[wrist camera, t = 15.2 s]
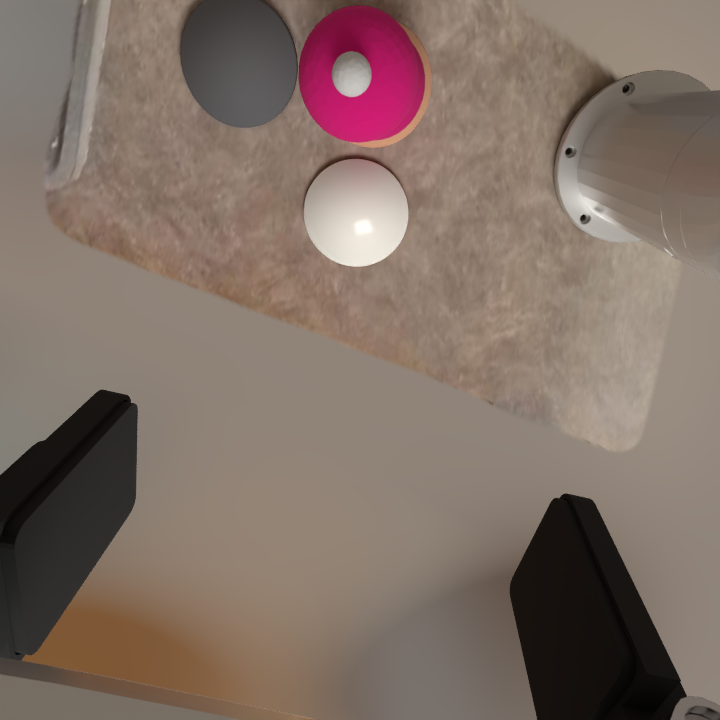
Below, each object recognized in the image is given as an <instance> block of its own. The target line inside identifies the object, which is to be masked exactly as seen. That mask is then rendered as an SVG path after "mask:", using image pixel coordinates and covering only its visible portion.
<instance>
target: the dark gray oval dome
mask: <svg viewBox="0 0 720 720" xmlns="http://www.w3.org/2000/svg"><path fill="white" fill-rule="evenodd" d="M180 54H181V64H182V70H183V74H184V77H185V80H186V83H187V85H188V88H189V89H190V91H191V93H192V95H193V96H194V98H195V99H196V101H197V102H198V103H199V105H200V106H201V107H202V108H203V109H204V110H205V111H206V112H207V113H208V114H209V115H211V116H212V117H214V118H215V119H217V120H218V121H220V122H222V123H225V124H227V125H230V126H234V127H241V128H250V127H255V126H259V125H262V124H265V123H267V122H269V121H271V120H272V119H274V118H275V117H276V116H278V115H279V114H280V113H281V112H282V111H283V109H284V108H285V107H286V105H287V104H288V102H289V100H290V99H291V97H292V94H293V92H294V89H295V85H296V80H297V73H298V62H297V54H296V49H295V45H294V42H293V39H292V37H291V34H290V32H289V30H288V28H287V27H286V25H285V23H284V22H283V20H282V19H281V18H280V16H279V15H278V14H277V13H276V12H275V11H274V10H273V9H272V8H270V7H269V6H268V5H267V4H265V3H264V2H262V1H260V0H205V1H203V2H202V3H201V4H200V5H199V6H198V7H197V8H196V9H195V10H194V11H193V13H192V14H191V16H190V17H189V19H188V21H187V23H186V26H185V28H184V31H183V35H182V40H181V53H180Z"/></svg>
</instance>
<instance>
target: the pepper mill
mask: <svg viewBox="0 0 720 720" xmlns="http://www.w3.org/2000/svg"><path fill="white" fill-rule="evenodd" d="M299 85H300V91H301V95H302V98H303V101H304V104H305V106H306V107H307V109H308V111H309V113H310V115H311V116H312V118H313V119H314V120H315V121H316V123H317V124H318V125H319V126H320V127H321V128H322V129H323V130H325V131H326V132H327V133H329V134H330V135H332V136H334V137H336V138H338V139H341V140H344V141H348V142H356V143H360V142H369V141H375V140H383V139H387V138H390V137H392V136H394V135H396V134H398V133H399V132H401V131H402V130H404V129H405V128H406V127H407V126H408V125H409V124H410V123H411V121H412V120H413V119H414V117H415V116H416V114H417V112H418V110H419V109H420V106H421V103H422V100H423V97H424V91H425V72H424V66H423V63H422V60H421V57H420V55H419V53H418V51H417V49H416V47H415V46H414V45H413V43H412V42H411V40H410V38H409V36H408V35H407V33H406V31H405V30H404V29H403V28H402V27H401V25H400V24H399V23H398V22H397V21H396V20H395V19H394V18H392V17H391V16H390V15H388V14H387V13H385V12H383V11H381V10H379V9H377V8H373V7H370V6H358V5H356V6H349V7H344V8H341V9H338V10H336V11H334V12H332V13H331V14H329V15H327V16H326V17H324V18H323V19H322V20H321V21H320V22H319V23H318V24H317V25H316V26H315V28H314V29H313V30H312V32H311V33H310V34H309V36H308V38H307V40H306V42H305V44H304V47H303V50H302V53H301V57H300V62H299Z"/></svg>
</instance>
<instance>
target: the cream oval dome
mask: <svg viewBox="0 0 720 720" xmlns="http://www.w3.org/2000/svg"><path fill="white" fill-rule="evenodd" d="M304 221H305V225H306V229H307V232H308V234H309V236H310V238H311V240H312V242H313V243H314V245H315V246H316V247H317V248H318V249H319V251H321V252H322V253H323V254H324V255H325V256H327V257H328V258H329V259H331V260H333V261H335V262H337V263H340V264H343V265H347V266H367V265H371V264H374V263H376V262H379V261H381V260H382V259H384V258H386V257H387V256H388V255H390V254H391V253H392V252H393V251H394V250H395V249H396V247H397V246H398V245H399V243H400V242H401V240H402V238H403V236H404V234H405V231H406V227H407V223H408V204H407V199H406V196H405V193H404V191H403V188H402V187H401V185H400V183H399V182H398V180H397V179H396V178H395V176H394V175H393V174H392V173H390V172H389V171H388V170H387V169H386V168H384V167H383V166H381V165H379V164H377V163H375V162H372V161H368V160H364V159H348V160H343V161H340V162H337V163H335V164H333V165H331V166H329V167H328V168H326V169H325V170H323V171H322V172H321V173H320V174H319V175H318V176H317V177H316V179H315V180H314V181H313V183H312V184H311V186H310V188H309V190H308V192H307V195H306V199H305V204H304Z"/></svg>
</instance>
